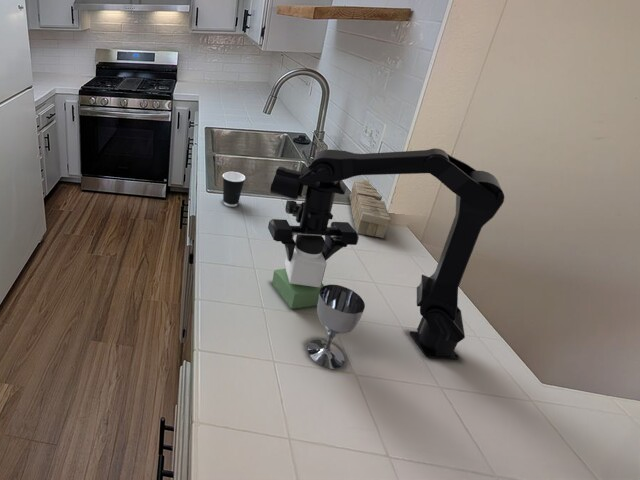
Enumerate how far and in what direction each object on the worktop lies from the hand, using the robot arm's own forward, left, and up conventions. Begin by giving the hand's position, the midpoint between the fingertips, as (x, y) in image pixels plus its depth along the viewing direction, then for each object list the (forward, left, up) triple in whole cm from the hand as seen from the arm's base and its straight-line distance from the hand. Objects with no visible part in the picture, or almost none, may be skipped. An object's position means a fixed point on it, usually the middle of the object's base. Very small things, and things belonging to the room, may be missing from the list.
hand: (305, 261), depth 93 cm
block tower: (+41, -36, -10) cm, 55 cm away
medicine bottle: (0, 0, -5) cm, 5 cm away
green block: (0, 0, -10) cm, 10 cm away
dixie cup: (+46, +9, -10) cm, 48 cm away
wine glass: (-18, 0, -10) cm, 21 cm away
